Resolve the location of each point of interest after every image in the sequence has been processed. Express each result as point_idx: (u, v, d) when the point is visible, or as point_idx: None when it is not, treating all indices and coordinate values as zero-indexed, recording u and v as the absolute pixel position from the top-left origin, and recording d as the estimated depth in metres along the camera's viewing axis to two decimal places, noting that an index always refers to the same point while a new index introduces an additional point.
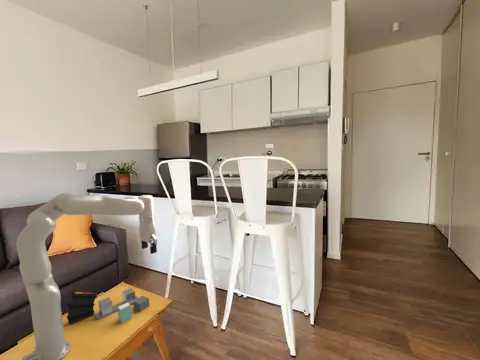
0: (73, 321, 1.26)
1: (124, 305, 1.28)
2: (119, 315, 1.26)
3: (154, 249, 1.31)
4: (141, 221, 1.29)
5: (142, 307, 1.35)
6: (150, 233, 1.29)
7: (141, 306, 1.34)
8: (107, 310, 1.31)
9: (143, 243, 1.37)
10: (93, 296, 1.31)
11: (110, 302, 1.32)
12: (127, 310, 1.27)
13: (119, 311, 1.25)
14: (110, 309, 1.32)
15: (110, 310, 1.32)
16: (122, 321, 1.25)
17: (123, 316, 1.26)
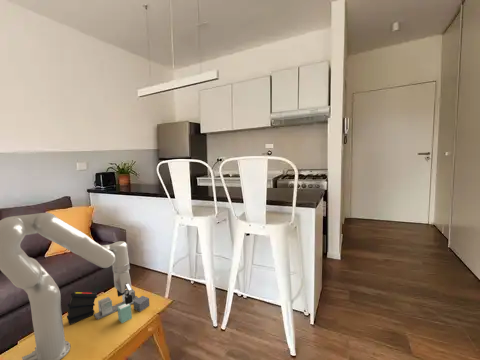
0: (73, 321, 1.26)
1: (124, 305, 1.28)
2: (119, 315, 1.26)
3: (129, 299, 1.23)
4: (114, 271, 1.22)
5: (142, 307, 1.35)
6: (124, 283, 1.22)
7: (141, 306, 1.34)
8: (107, 310, 1.31)
9: (119, 291, 1.30)
10: (93, 296, 1.31)
11: (110, 302, 1.32)
12: (127, 310, 1.27)
13: (119, 311, 1.25)
14: (110, 309, 1.32)
15: (110, 310, 1.32)
16: (122, 321, 1.25)
17: (123, 316, 1.26)
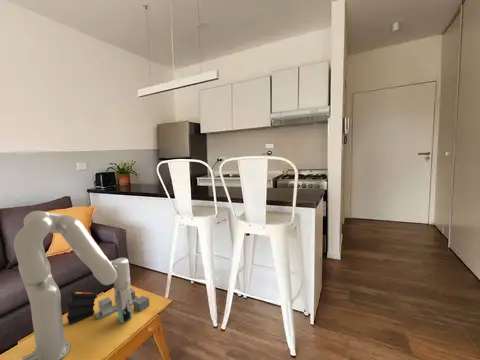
0: (73, 321, 1.26)
1: None
2: (119, 315, 1.26)
3: (127, 316, 1.26)
4: (115, 287, 1.23)
5: (142, 307, 1.35)
6: (125, 300, 1.22)
7: (141, 306, 1.34)
8: (107, 310, 1.31)
9: None
10: (93, 296, 1.31)
11: (110, 302, 1.32)
12: None
13: (119, 311, 1.25)
14: (110, 309, 1.32)
15: (110, 310, 1.32)
16: (122, 321, 1.25)
17: None
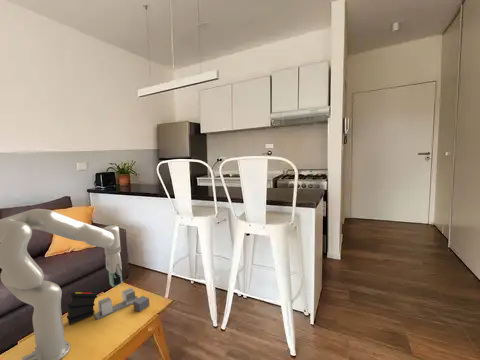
0: (73, 321, 1.26)
1: None
2: (110, 279, 1.33)
3: (118, 280, 1.33)
4: (106, 252, 1.30)
5: (142, 307, 1.35)
6: (115, 264, 1.30)
7: (140, 306, 1.34)
8: (107, 310, 1.31)
9: None
10: (93, 296, 1.31)
11: (110, 302, 1.32)
12: None
13: (110, 275, 1.33)
14: (110, 309, 1.32)
15: (110, 310, 1.32)
16: (113, 285, 1.33)
17: None
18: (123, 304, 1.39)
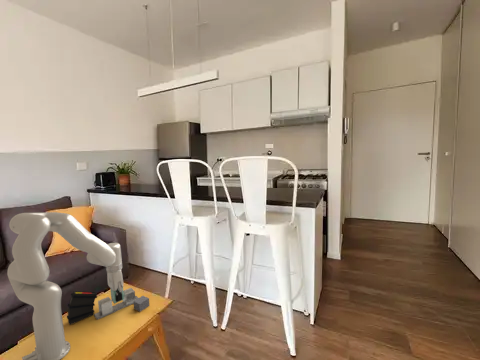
0: (73, 321, 1.26)
1: None
2: (112, 296, 1.35)
3: (119, 297, 1.34)
4: (108, 270, 1.31)
5: (142, 307, 1.35)
6: (117, 282, 1.31)
7: (140, 306, 1.34)
8: (107, 310, 1.31)
9: None
10: (93, 296, 1.31)
11: (110, 302, 1.32)
12: None
13: (112, 292, 1.34)
14: (110, 309, 1.32)
15: (110, 310, 1.32)
16: (115, 301, 1.34)
17: None
18: (123, 304, 1.39)
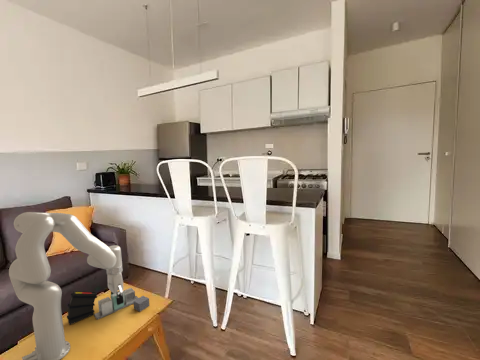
0: (73, 321, 1.26)
1: None
2: (112, 302, 1.35)
3: (120, 300, 1.33)
4: (108, 273, 1.31)
5: (142, 307, 1.35)
6: (117, 284, 1.31)
7: (140, 306, 1.34)
8: (107, 310, 1.31)
9: (112, 293, 1.38)
10: (93, 296, 1.31)
11: (110, 302, 1.32)
12: None
13: (112, 298, 1.34)
14: (110, 309, 1.32)
15: (110, 310, 1.32)
16: (115, 308, 1.34)
17: (116, 303, 1.34)
18: None
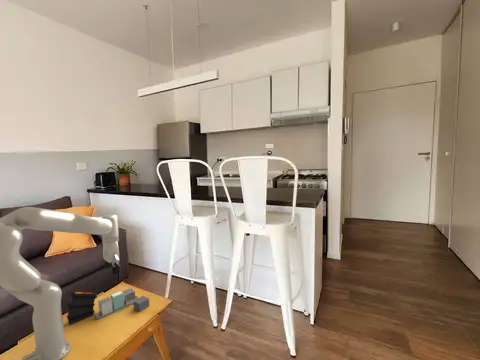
0: (73, 321, 1.26)
1: (117, 293, 1.36)
2: (112, 302, 1.35)
3: (116, 270, 1.28)
4: (104, 241, 1.28)
5: (142, 307, 1.35)
6: (112, 253, 1.27)
7: (140, 306, 1.34)
8: (107, 310, 1.31)
9: (107, 263, 1.35)
10: (93, 296, 1.31)
11: (110, 302, 1.32)
12: (119, 298, 1.35)
13: (112, 298, 1.34)
14: (110, 309, 1.32)
15: (110, 310, 1.32)
16: (115, 308, 1.34)
17: (116, 303, 1.34)
18: None
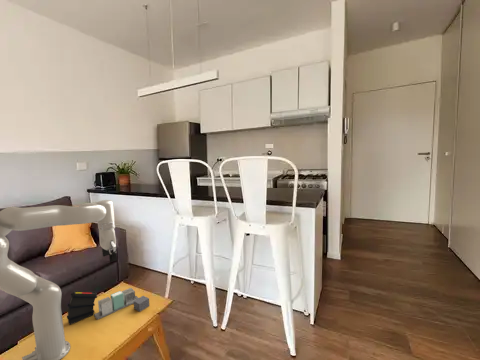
0: (73, 321, 1.26)
1: (117, 293, 1.36)
2: (112, 302, 1.35)
3: (114, 257, 1.24)
4: (99, 228, 1.23)
5: (142, 307, 1.35)
6: (109, 240, 1.23)
7: (140, 306, 1.34)
8: (107, 310, 1.31)
9: (104, 250, 1.31)
10: (93, 296, 1.31)
11: (110, 302, 1.32)
12: (119, 298, 1.35)
13: (112, 298, 1.34)
14: (110, 309, 1.32)
15: (110, 310, 1.32)
16: (115, 308, 1.34)
17: (116, 303, 1.34)
18: None
